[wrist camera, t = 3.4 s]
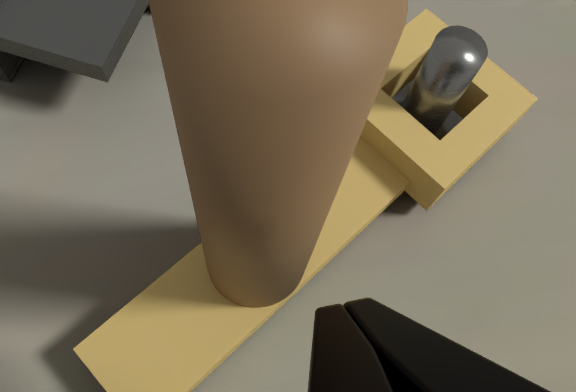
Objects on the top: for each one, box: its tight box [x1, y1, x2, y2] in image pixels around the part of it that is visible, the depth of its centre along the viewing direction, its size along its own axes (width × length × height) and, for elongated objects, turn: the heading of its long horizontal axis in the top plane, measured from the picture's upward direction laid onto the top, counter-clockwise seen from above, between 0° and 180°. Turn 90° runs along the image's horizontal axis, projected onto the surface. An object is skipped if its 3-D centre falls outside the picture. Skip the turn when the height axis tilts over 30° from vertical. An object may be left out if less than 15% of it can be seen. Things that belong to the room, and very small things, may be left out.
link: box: [73, 0, 538, 392], centre depth 12 cm, size 16×5×12 cm, turn 134°
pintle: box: [392, 26, 488, 140], centre depth 18 cm, size 4×4×5 cm
